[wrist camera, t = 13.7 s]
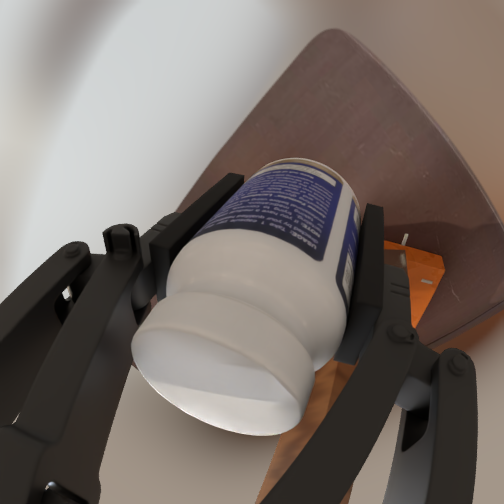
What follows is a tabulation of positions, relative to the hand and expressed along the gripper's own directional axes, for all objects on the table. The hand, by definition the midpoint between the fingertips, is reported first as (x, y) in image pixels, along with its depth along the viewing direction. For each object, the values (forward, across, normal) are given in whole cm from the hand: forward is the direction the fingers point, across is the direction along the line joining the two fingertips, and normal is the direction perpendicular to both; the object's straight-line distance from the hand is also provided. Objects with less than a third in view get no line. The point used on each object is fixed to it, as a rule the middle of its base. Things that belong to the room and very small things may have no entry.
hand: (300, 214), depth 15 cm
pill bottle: (0, 0, 0) cm, 0 cm away
